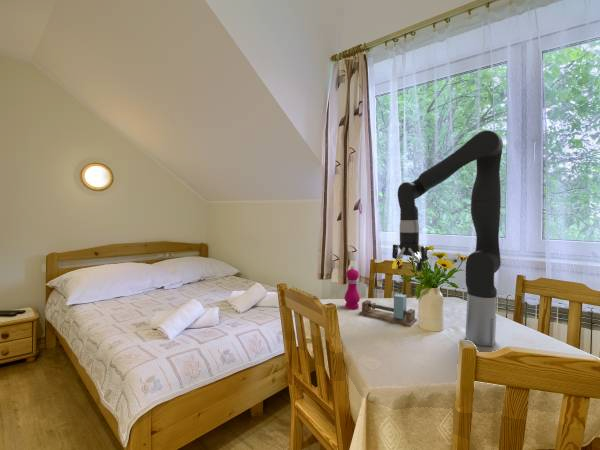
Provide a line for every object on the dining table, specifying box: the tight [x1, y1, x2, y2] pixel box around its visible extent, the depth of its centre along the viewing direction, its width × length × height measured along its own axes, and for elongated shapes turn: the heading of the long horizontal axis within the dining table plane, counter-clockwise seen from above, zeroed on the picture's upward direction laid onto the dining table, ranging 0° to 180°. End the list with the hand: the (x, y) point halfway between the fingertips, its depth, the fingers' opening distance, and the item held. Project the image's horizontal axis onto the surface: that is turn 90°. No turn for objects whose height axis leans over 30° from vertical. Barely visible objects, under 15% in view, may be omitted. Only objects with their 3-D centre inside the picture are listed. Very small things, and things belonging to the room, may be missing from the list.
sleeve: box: [393, 293, 408, 319], centre depth 138 cm, size 4×4×9 cm
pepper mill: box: [344, 266, 361, 310], centre depth 155 cm, size 7×7×20 cm
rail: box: [358, 299, 418, 327], centre depth 141 cm, size 23×8×5 cm, turn 53°
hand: (409, 270), depth 134 cm, fingers open, 8 cm apart
